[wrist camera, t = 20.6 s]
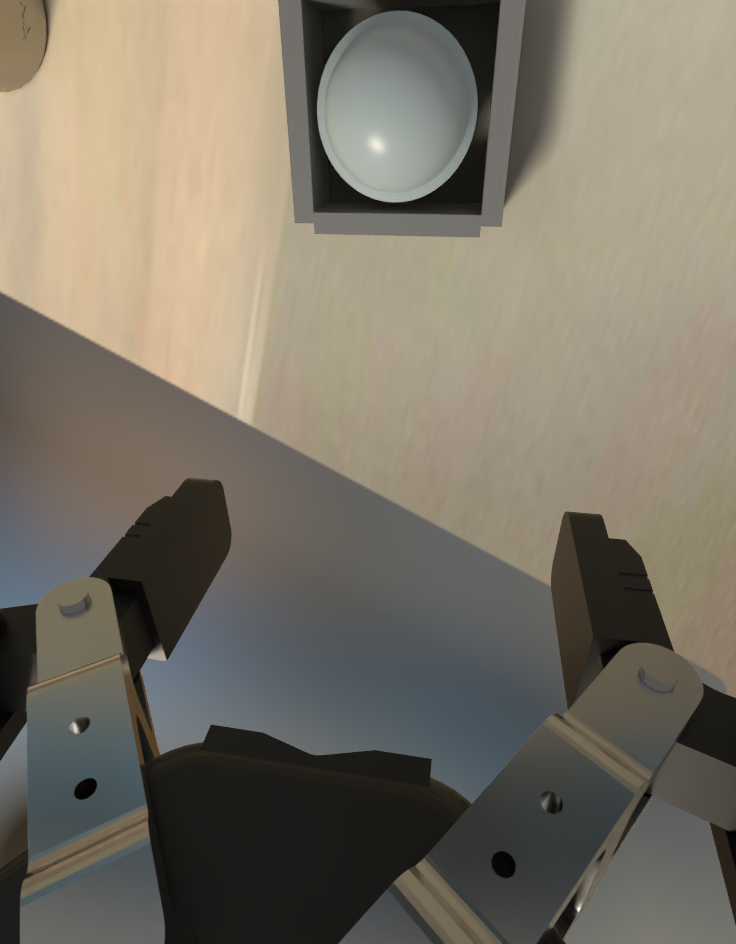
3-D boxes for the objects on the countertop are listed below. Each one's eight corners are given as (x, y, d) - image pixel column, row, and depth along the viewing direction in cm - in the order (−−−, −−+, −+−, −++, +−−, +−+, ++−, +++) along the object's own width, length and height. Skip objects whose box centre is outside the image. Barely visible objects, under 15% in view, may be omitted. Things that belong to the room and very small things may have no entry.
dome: (335, 193, 36) (304, 211, 30) (328, 22, 32) (290, 2, 25) (471, 194, 35) (468, 214, 29) (485, 17, 30) (486, -6, 24)
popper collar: (313, 220, 39) (295, 233, 35) (299, -17, 32) (275, -33, 28) (498, 224, 37) (500, 237, 33) (525, -27, 30) (531, -45, 26)
